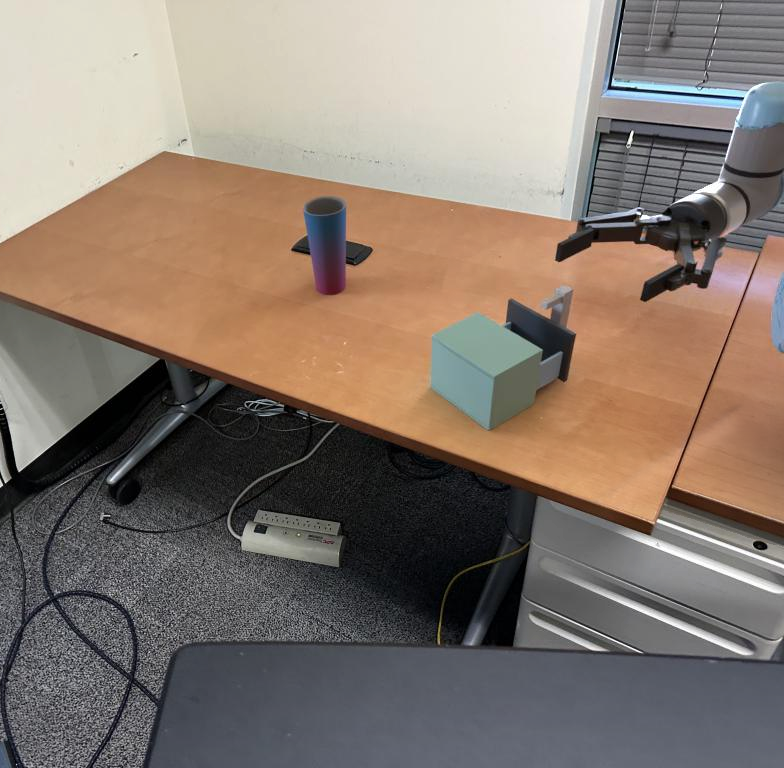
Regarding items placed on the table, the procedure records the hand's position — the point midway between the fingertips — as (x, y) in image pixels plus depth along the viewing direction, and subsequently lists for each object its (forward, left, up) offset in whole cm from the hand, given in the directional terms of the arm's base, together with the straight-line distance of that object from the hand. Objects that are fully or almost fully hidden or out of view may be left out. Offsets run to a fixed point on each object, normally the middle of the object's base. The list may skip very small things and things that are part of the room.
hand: (599, 271), depth 92 cm
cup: (+23, +34, -11) cm, 42 cm away
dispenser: (-9, +18, -11) cm, 23 cm away
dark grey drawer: (-5, +10, -10) cm, 16 cm away
